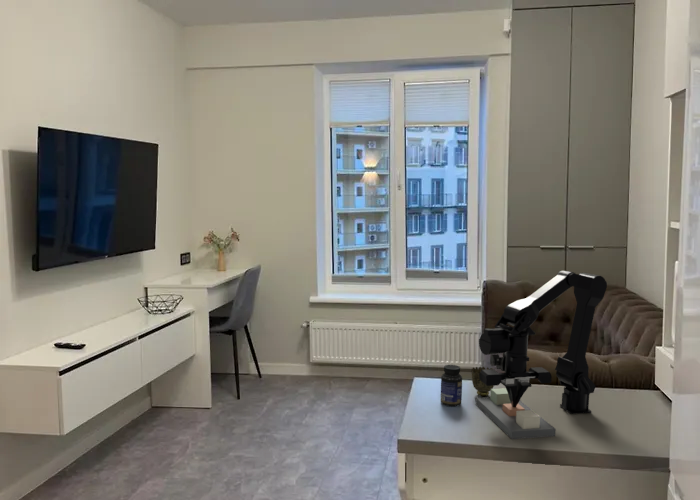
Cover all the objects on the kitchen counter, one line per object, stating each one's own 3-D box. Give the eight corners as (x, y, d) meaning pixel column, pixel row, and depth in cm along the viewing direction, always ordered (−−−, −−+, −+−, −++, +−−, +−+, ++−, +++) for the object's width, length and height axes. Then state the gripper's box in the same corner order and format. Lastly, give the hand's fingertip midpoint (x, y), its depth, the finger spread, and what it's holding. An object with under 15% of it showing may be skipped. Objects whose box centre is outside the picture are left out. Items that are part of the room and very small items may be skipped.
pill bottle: (461, 408, 175) (462, 370, 174) (439, 406, 177) (440, 369, 175) (461, 400, 181) (462, 364, 180) (440, 398, 183) (442, 363, 181)
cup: (497, 399, 182) (498, 374, 181) (473, 399, 182) (474, 373, 181) (492, 391, 190) (493, 366, 189) (468, 390, 190) (469, 365, 189)
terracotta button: (517, 414, 170) (517, 403, 170) (524, 421, 166) (524, 409, 165) (502, 415, 169) (502, 403, 169) (509, 421, 165) (509, 409, 165)
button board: (514, 402, 180) (514, 395, 180) (555, 436, 157) (555, 428, 157) (476, 404, 178) (476, 397, 178) (511, 439, 155) (511, 431, 155)
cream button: (531, 422, 162) (532, 409, 161) (539, 429, 157) (540, 416, 157) (515, 423, 161) (516, 410, 160) (523, 430, 157) (524, 417, 156)
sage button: (504, 399, 178) (504, 388, 178) (510, 404, 174) (511, 393, 174) (490, 400, 177) (490, 388, 177) (496, 405, 173) (496, 394, 173)
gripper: (534, 342, 175) (531, 394, 177) (472, 344, 172) (470, 397, 173) (553, 353, 164) (550, 408, 166) (488, 355, 161) (486, 412, 163)
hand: (513, 406), depth 167 cm, fingers closed, pressing on terracotta button
